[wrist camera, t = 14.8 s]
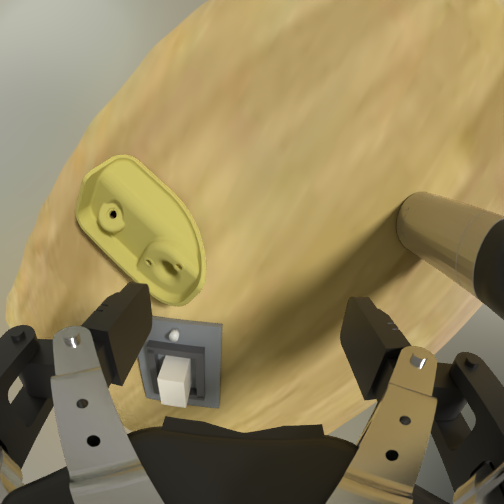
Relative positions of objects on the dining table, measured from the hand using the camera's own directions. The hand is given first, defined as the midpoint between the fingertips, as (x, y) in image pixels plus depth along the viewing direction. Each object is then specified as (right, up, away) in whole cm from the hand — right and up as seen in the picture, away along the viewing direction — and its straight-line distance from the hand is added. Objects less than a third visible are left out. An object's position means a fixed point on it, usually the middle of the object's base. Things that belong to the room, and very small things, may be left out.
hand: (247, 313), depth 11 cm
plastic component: (-14, +6, +26) cm, 30 cm away
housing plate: (-12, -17, +33) cm, 39 cm away
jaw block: (-12, -17, +32) cm, 38 cm away
